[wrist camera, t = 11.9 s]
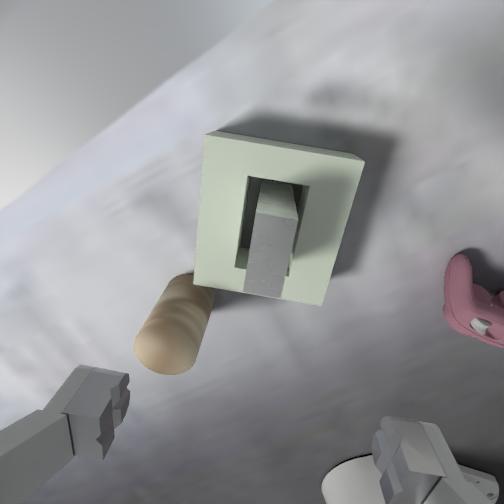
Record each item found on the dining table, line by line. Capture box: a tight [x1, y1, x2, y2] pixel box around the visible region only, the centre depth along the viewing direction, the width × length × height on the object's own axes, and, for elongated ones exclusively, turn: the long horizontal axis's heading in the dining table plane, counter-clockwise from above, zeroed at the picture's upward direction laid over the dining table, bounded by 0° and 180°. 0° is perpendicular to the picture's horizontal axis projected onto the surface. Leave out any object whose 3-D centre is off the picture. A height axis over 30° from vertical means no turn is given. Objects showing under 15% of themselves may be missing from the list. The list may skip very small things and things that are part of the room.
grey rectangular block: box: [243, 180, 298, 299], centre depth 23 cm, size 2×6×9 cm, turn 171°
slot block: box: [193, 131, 365, 306], centre depth 25 cm, size 11×12×4 cm
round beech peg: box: [134, 274, 215, 375], centre depth 28 cm, size 5×5×8 cm
